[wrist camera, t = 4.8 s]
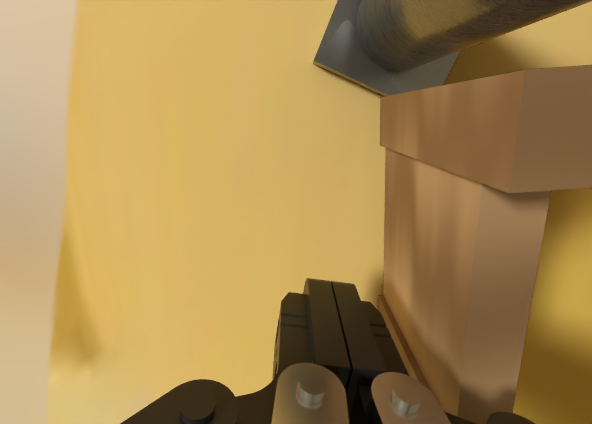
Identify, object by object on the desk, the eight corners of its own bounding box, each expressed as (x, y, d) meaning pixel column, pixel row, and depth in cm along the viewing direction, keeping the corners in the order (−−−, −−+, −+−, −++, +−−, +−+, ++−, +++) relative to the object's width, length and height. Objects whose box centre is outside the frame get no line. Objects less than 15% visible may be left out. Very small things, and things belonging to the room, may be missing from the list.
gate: (380, 97, 11) (525, 69, 4) (428, 93, 11) (655, 60, 4) (378, 328, 13) (462, 543, 7) (416, 326, 13) (538, 538, 7)
